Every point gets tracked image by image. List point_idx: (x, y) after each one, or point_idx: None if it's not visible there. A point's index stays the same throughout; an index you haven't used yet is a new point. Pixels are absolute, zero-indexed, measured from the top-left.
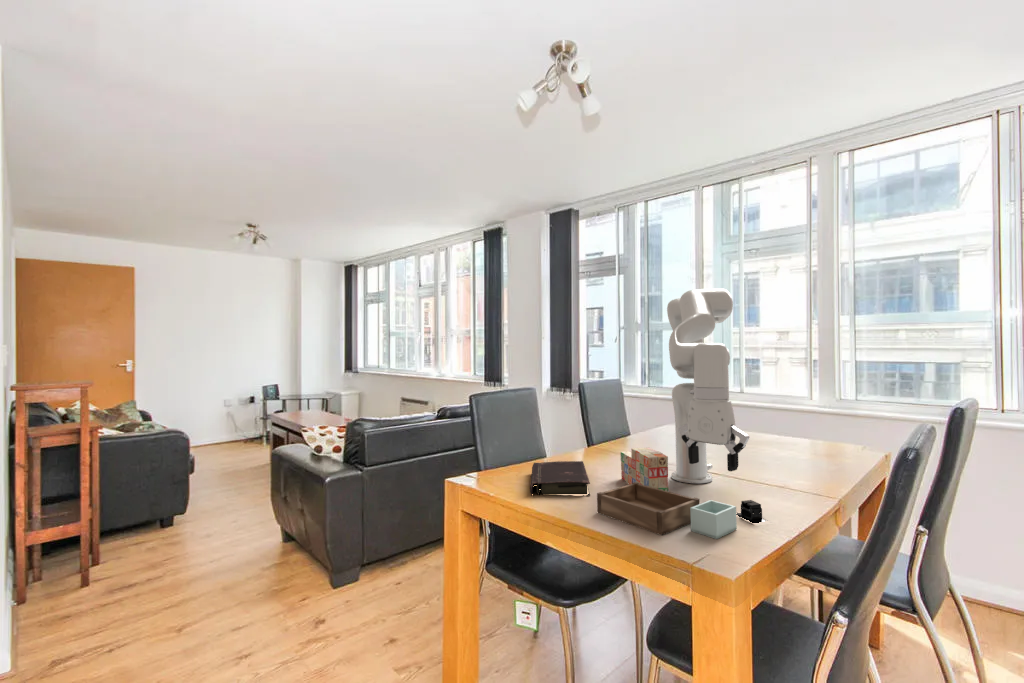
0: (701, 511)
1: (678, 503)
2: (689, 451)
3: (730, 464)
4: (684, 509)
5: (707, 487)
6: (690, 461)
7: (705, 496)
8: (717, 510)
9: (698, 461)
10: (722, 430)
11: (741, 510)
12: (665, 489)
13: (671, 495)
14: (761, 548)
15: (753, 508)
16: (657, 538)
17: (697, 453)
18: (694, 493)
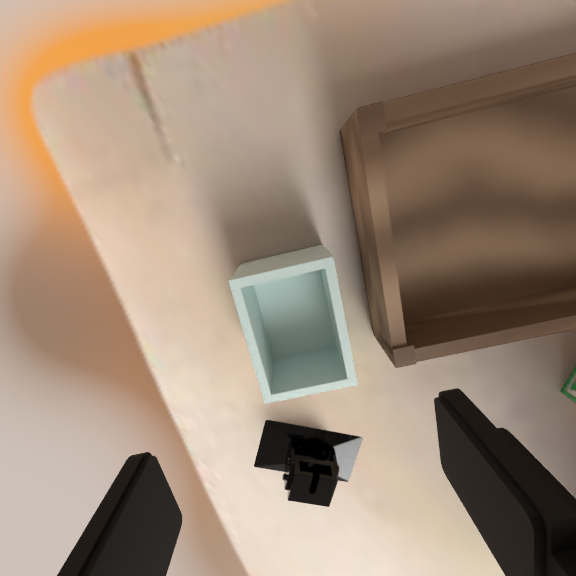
0: (286, 266)
1: (455, 324)
2: (530, 470)
3: (105, 502)
4: (375, 269)
5: None
6: (456, 399)
7: None
8: (322, 367)
9: (443, 468)
10: None
11: (333, 456)
12: None
13: (499, 327)
14: (149, 318)
15: (293, 471)
16: (328, 96)
17: (484, 526)
18: None
